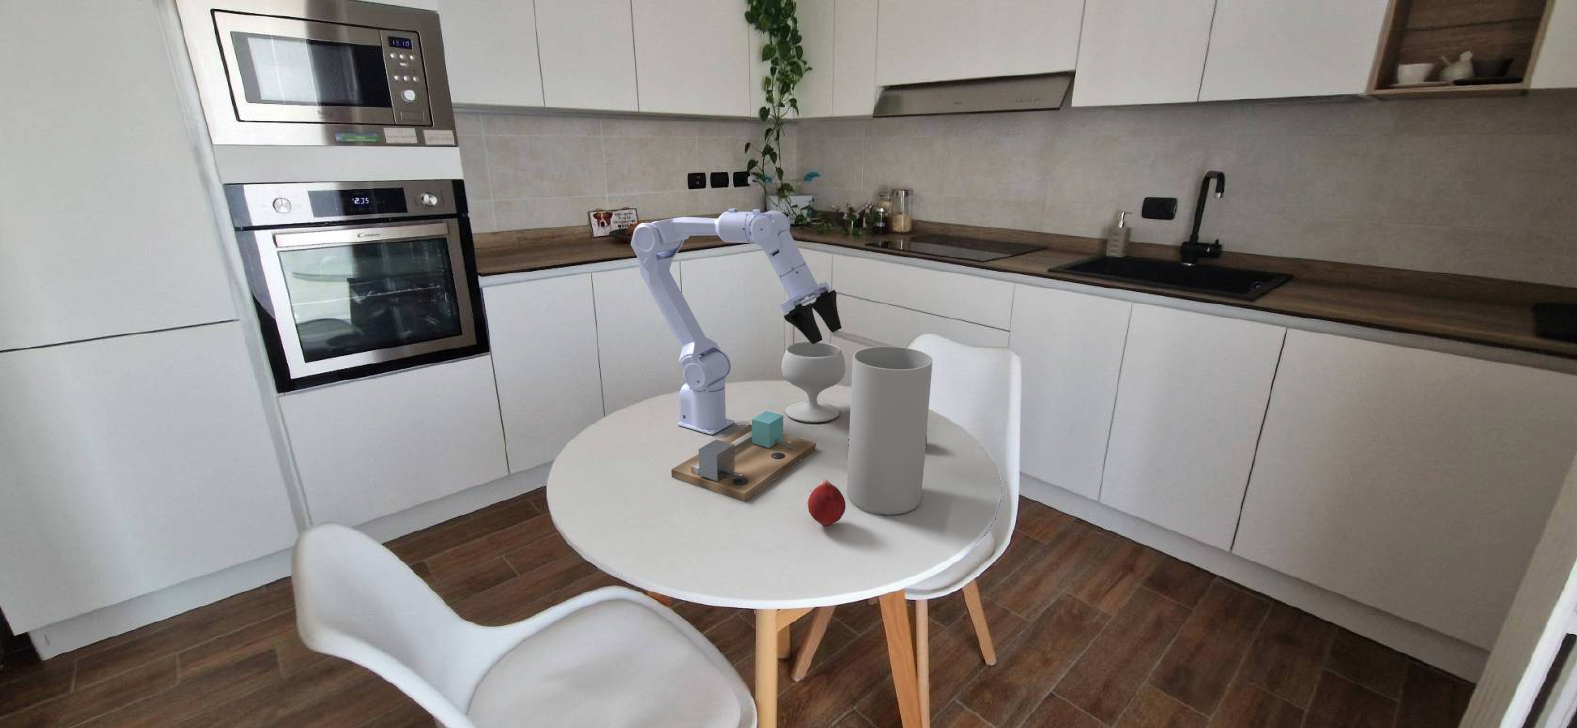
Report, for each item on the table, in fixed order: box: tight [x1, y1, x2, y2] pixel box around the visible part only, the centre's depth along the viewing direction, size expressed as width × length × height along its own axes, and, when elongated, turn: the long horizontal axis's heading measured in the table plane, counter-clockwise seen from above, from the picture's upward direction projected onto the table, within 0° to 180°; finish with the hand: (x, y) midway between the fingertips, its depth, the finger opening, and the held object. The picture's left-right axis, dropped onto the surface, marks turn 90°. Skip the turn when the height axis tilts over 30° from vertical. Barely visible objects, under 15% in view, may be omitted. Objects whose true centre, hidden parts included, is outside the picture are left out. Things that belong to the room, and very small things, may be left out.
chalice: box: [781, 341, 846, 423], centre depth 146 cm, size 14×14×15 cm
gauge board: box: [670, 424, 817, 502], centre depth 125 cm, size 16×24×3 cm, turn 148°
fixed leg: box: [698, 438, 744, 481], centre depth 116 cm, size 8×5×5 cm, turn 58°
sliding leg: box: [751, 410, 793, 448], centre depth 129 cm, size 8×5×5 cm, turn 58°
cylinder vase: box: [846, 345, 933, 516], centre depth 109 cm, size 12×12×25 cm
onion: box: [807, 478, 846, 527], centre depth 103 cm, size 6×6×8 cm
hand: (827, 336), depth 124 cm, fingers open, 7 cm apart
